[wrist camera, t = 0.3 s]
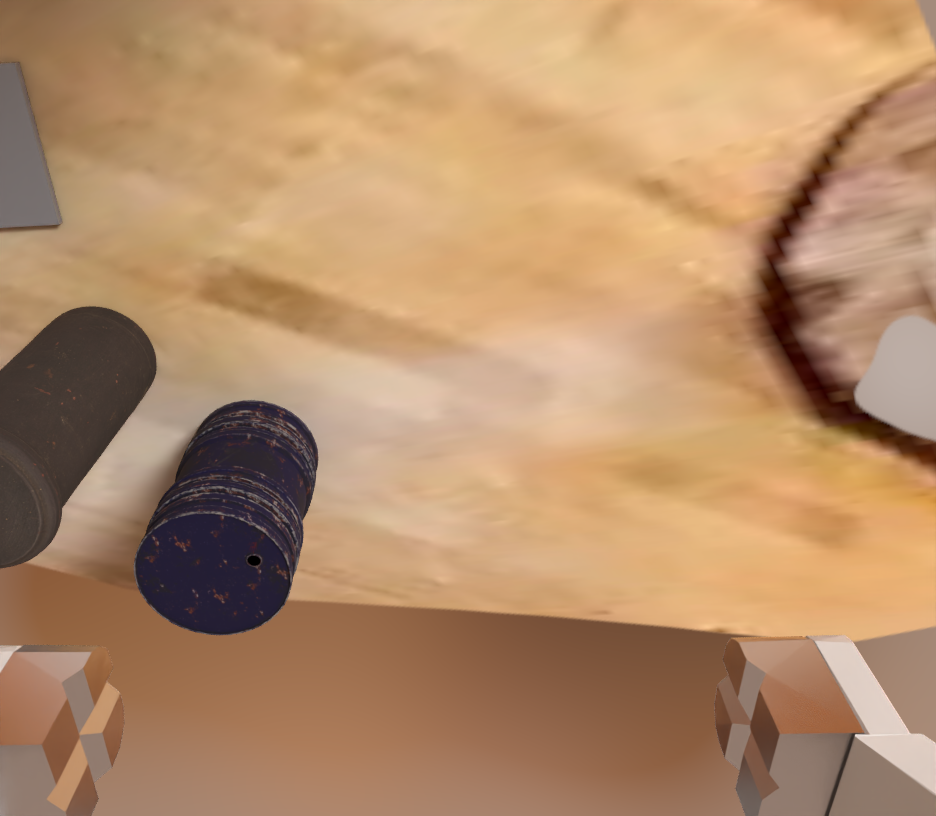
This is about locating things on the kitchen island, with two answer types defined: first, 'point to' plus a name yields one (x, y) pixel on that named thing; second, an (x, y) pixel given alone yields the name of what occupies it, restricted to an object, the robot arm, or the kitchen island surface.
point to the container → (63, 417)
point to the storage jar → (231, 521)
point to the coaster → (22, 159)
